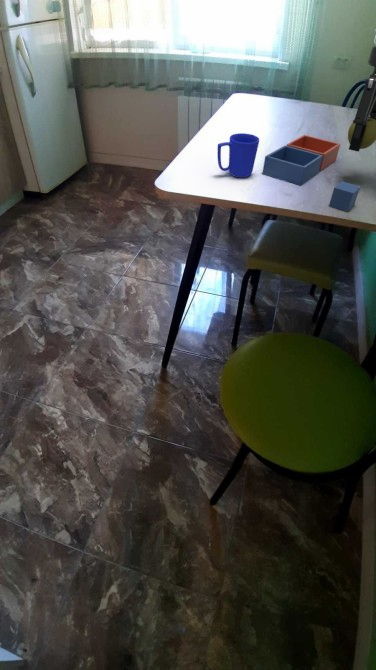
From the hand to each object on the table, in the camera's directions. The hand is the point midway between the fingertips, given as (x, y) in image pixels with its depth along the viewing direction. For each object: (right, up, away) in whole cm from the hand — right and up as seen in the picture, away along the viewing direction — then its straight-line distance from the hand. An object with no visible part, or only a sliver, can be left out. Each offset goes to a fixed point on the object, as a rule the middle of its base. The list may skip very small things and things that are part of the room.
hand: (359, 146), depth 114 cm
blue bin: (-17, -4, +8) cm, 19 cm away
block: (-7, -19, -6) cm, 21 cm away
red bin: (-9, +3, +16) cm, 19 cm away
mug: (-34, -6, +6) cm, 35 cm away
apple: (0, 0, 0) cm, 1 cm away
